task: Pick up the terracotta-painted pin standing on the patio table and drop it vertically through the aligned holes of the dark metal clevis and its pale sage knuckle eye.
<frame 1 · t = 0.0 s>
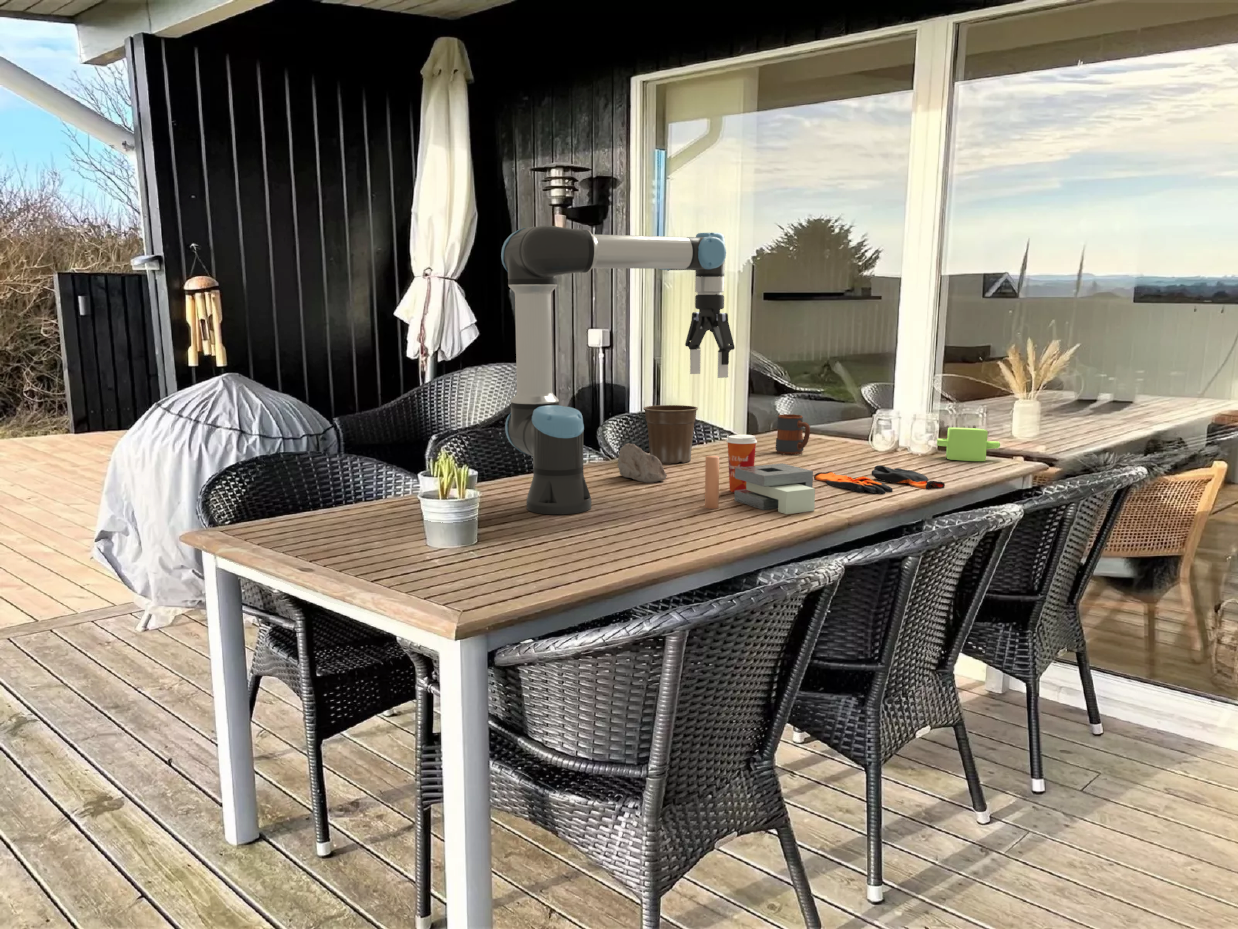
hand: (708, 375, 260), 28 cm above the table, fingers open, 13 cm apart
clevis: (769, 502, 236), on the table
knuckle eye: (769, 502, 236), on the table
mug: (793, 453, 309), on the table
pair of gloves: (878, 485, 260), on the table
gearbox: (967, 459, 298), on the table
plant pot: (670, 461, 295), on the table
paper cup: (741, 491, 250), on the table
pin: (711, 507, 231), on the table
pumice stone: (640, 480, 266), on the table
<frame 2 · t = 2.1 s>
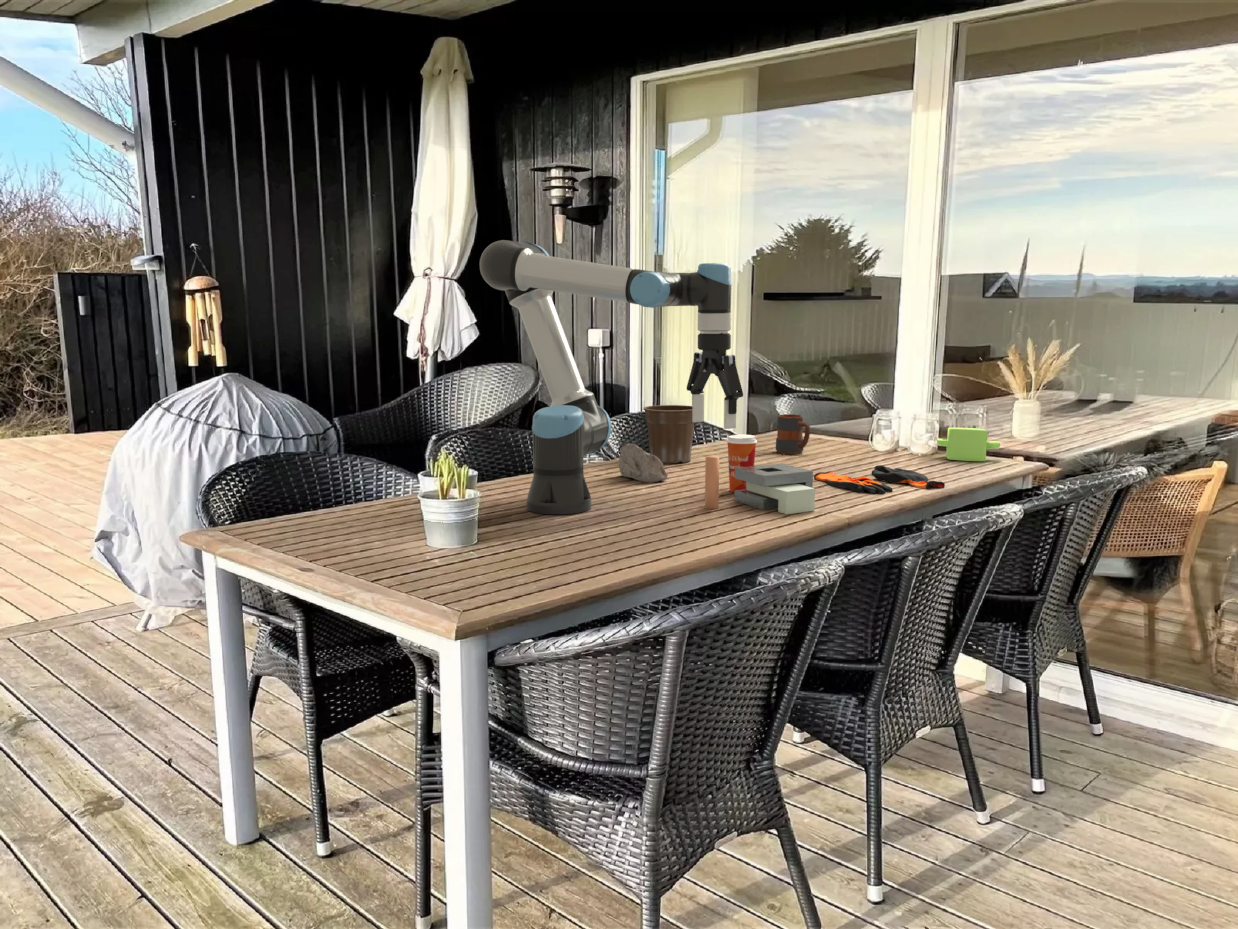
hand: (713, 425, 228), 19 cm above the table, fingers open, 13 cm apart
nothing on the table moved.
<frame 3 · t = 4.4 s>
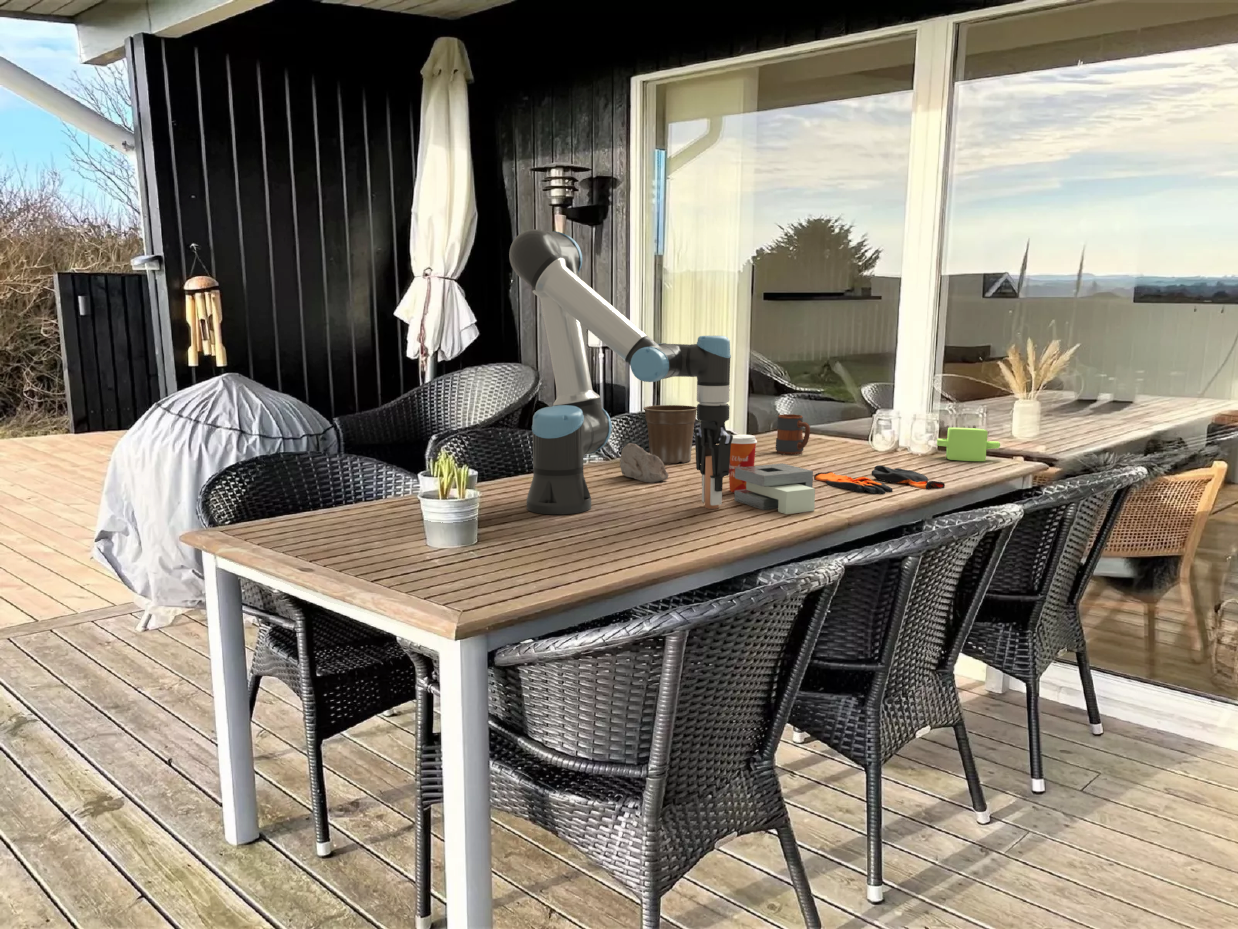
hand: (711, 503, 231), 1 cm above the table, fingers closed on pin, 3 cm apart
pin: (711, 507, 231), on the table, touching gripper
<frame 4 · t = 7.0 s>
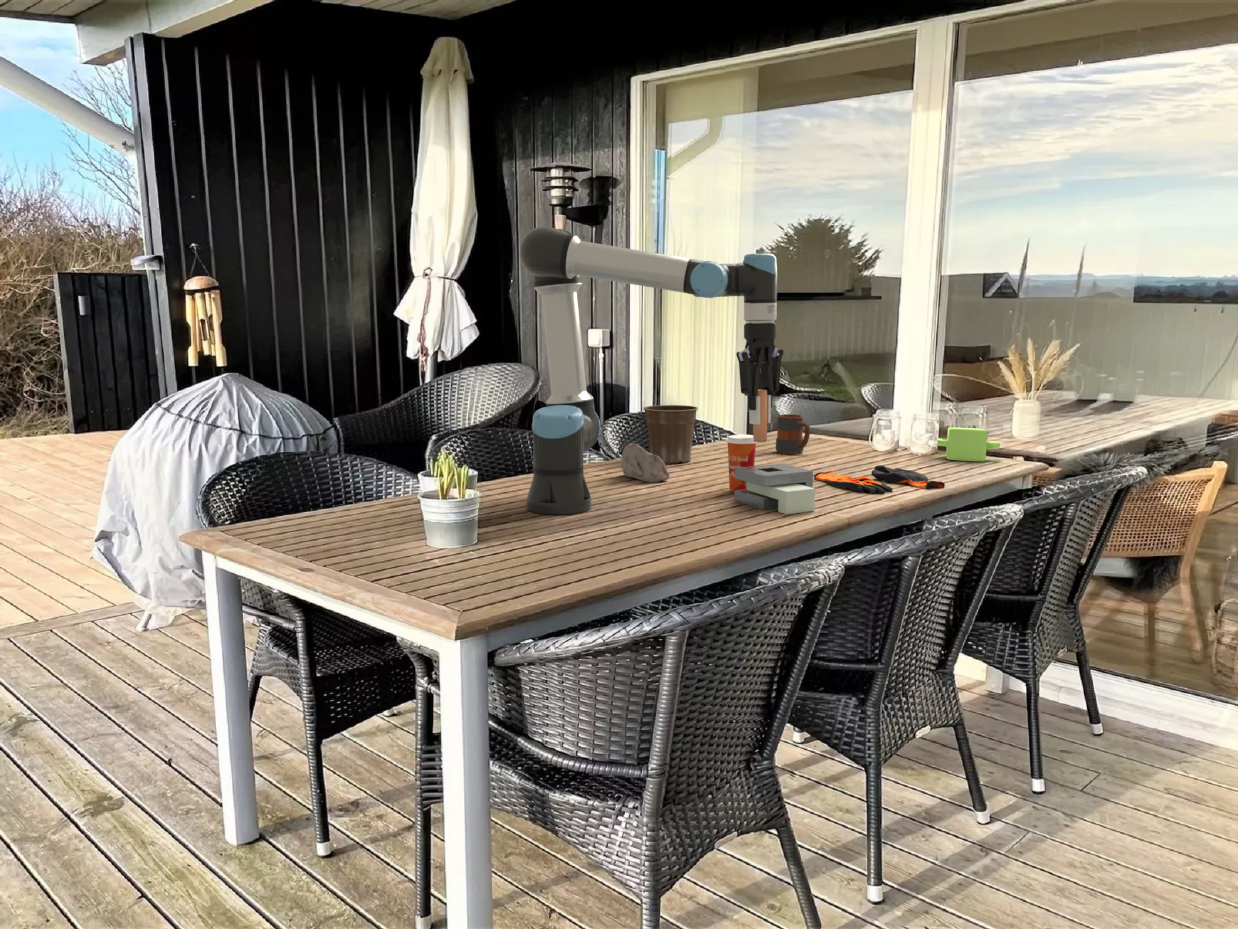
hand: (760, 423, 231), 19 cm above the table, fingers closed on pin, 3 cm apart
pin: (760, 441, 232), point 15 cm above the table, touching gripper
when the fingers open (10 cm above the table, at t = 9.7 s): pin drops 6 cm, on the table.
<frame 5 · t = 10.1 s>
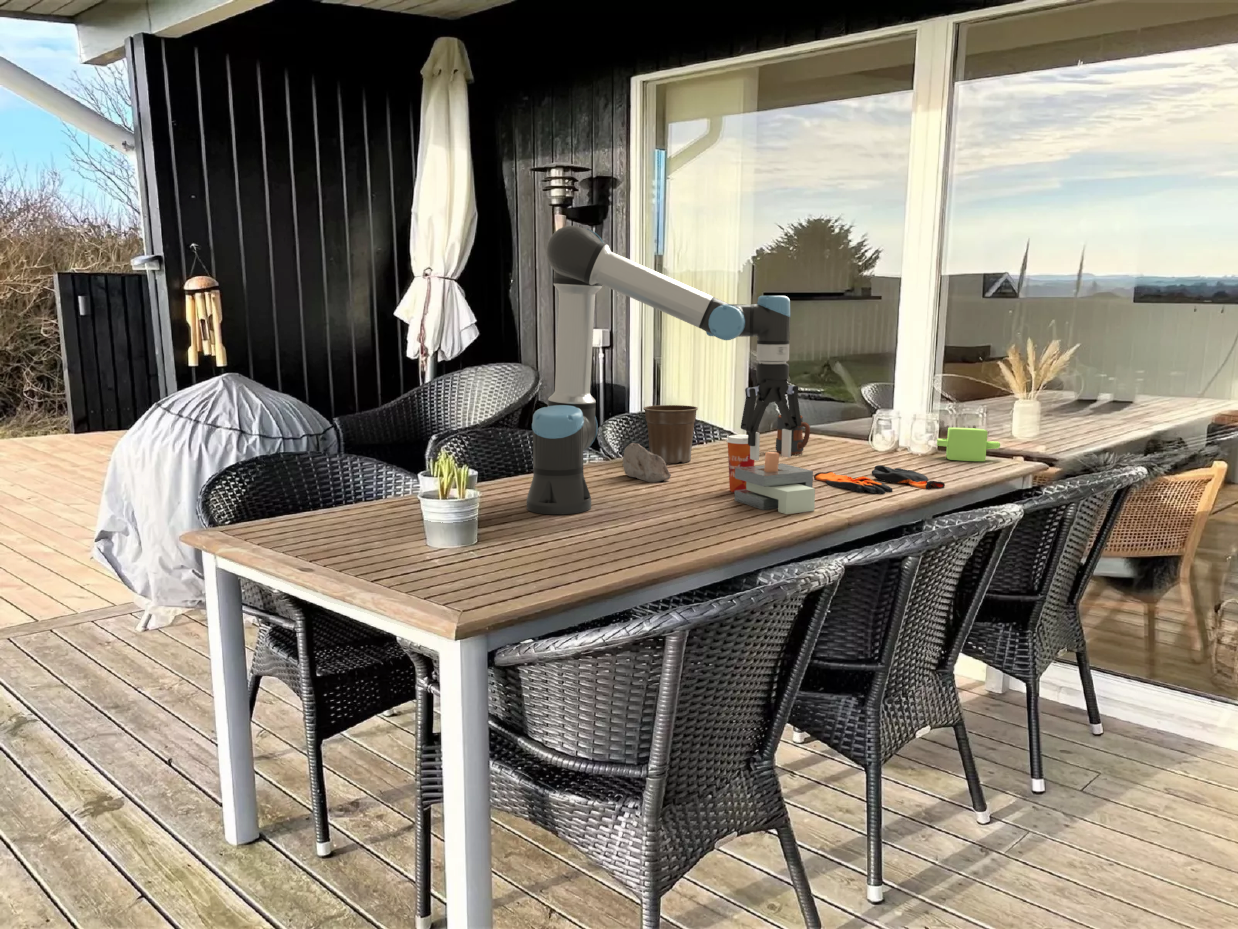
hand: (770, 458, 234), 11 cm above the table, fingers open, 8 cm apart
pin: (768, 502, 236), on the table
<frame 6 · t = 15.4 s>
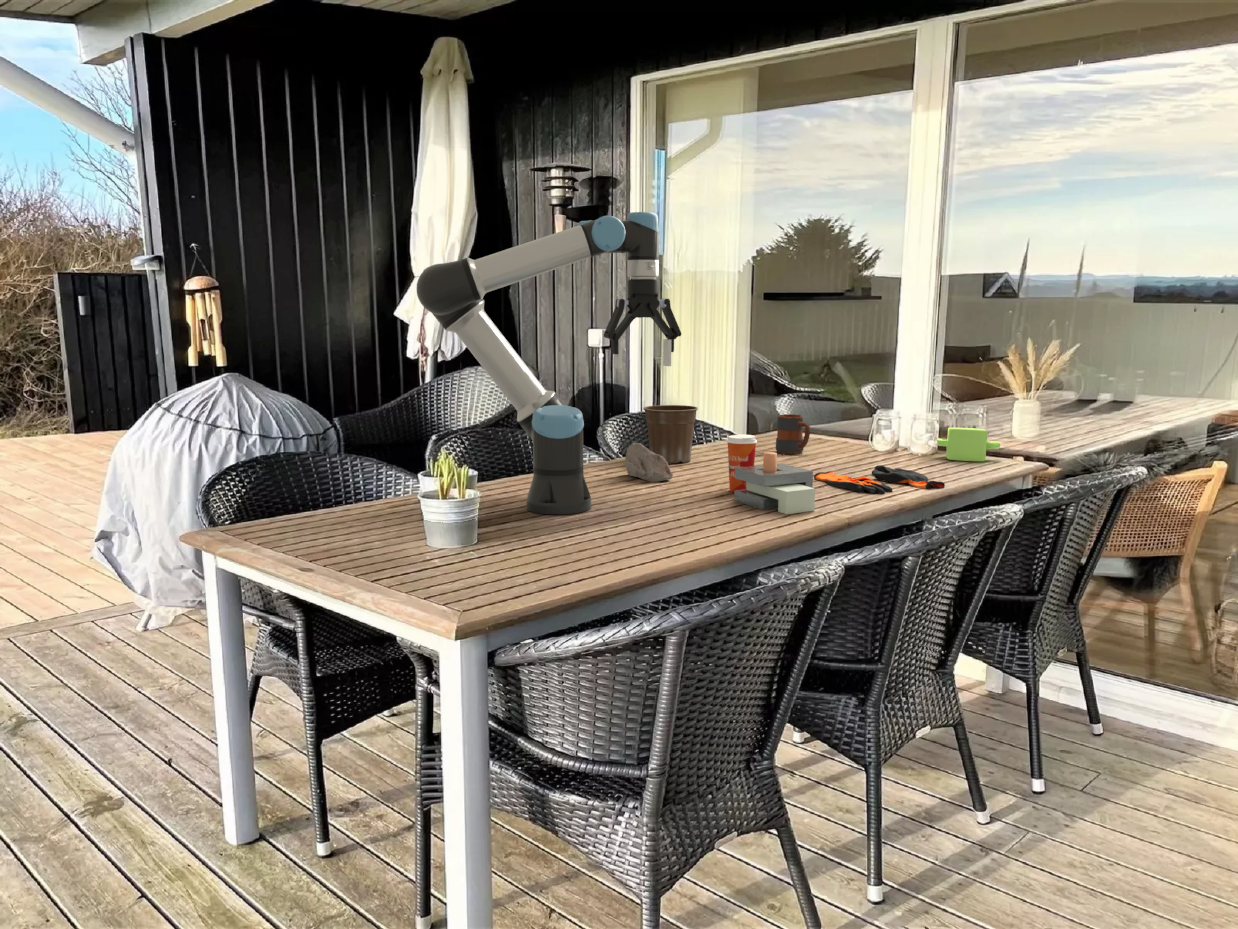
hand: (643, 367, 241), 32 cm above the table, fingers open, 13 cm apart
at the end: pin 0.1 cm off-centre on the clevis, point 0.0 cm above the clevis's base; pin tilted 0°; the gripper is holding nothing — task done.
